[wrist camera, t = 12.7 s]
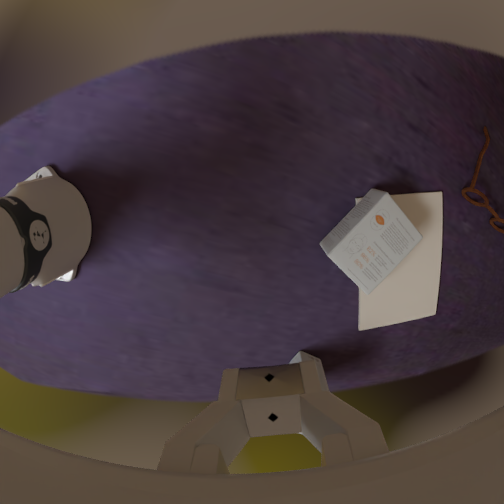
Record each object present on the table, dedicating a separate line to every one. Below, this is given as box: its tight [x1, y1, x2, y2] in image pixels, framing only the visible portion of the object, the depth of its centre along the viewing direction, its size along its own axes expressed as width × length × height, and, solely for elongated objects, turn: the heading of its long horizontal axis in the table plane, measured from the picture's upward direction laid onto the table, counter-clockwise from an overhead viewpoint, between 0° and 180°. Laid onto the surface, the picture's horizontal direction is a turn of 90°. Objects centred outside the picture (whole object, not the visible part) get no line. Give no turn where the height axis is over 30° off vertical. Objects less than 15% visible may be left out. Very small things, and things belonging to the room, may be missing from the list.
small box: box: [320, 188, 423, 295], centre depth 36 cm, size 8×6×10 cm
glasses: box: [461, 126, 504, 233], centre depth 34 cm, size 13×13×5 cm
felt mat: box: [355, 191, 443, 331], centre depth 40 cm, size 14×20×1 cm
